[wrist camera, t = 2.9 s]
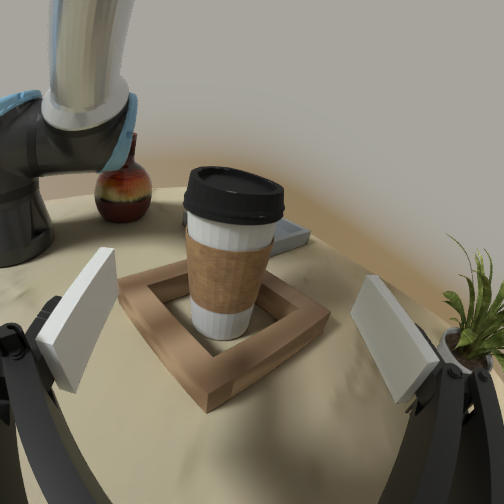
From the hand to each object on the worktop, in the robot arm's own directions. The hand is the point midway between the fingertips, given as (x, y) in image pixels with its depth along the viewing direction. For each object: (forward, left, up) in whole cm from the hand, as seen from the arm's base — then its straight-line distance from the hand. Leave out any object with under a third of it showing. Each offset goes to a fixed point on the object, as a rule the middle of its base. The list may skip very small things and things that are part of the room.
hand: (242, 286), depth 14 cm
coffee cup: (-8, +7, -12) cm, 16 cm away
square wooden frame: (-8, +7, -12) cm, 16 cm away
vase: (-40, +9, -12) cm, 43 cm away
